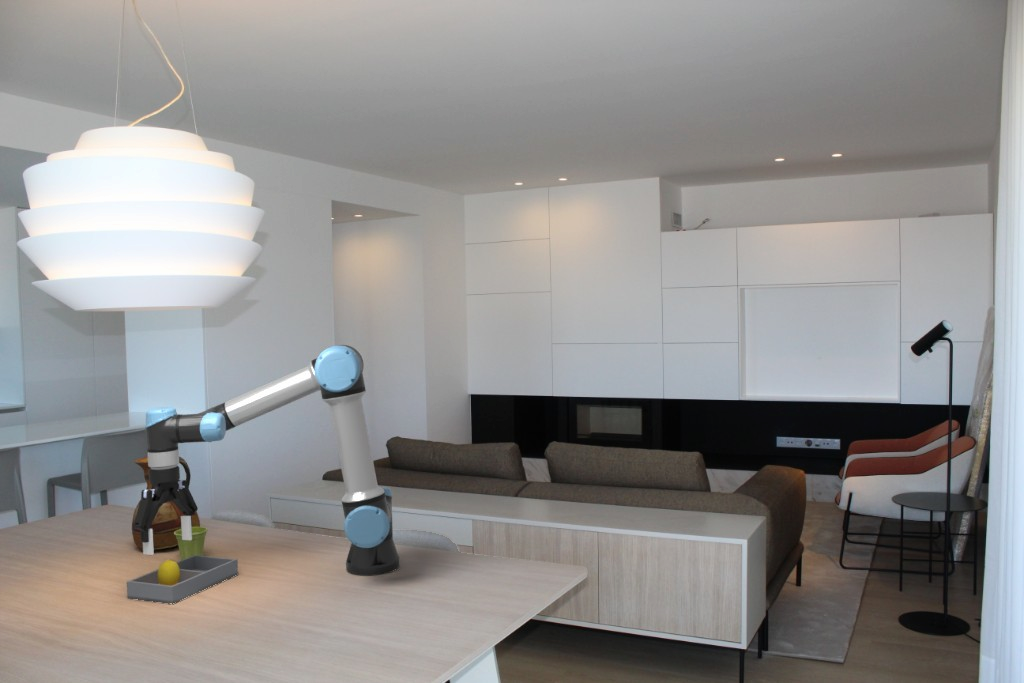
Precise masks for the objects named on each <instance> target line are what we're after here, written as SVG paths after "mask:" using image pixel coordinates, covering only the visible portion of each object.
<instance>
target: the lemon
mask: <svg viewBox="0 0 1024 683" xmlns="http://www.w3.org/2000/svg"><path fill="white" fill-rule="evenodd" d="M176 562H177V561H174V560H171V559H166V560H164V561H163V562H162V563H161V564H160V565H159V568H157V570H158V574H157V577H158V581H159V583H160V584H161V585H170V586H173V585H175V584H177V583H178V581H179V579H180V569H179V566H178V564H177V563H176Z"/></svg>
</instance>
